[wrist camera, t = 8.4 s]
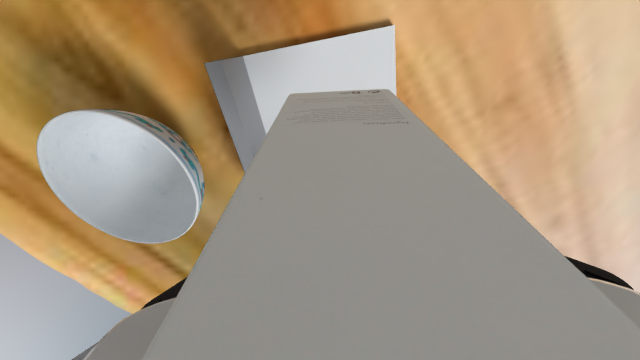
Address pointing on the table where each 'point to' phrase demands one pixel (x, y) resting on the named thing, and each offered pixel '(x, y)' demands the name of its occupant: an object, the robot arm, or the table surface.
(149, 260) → the table surface
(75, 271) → the table surface
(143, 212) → the chinaware
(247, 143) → the corner jig
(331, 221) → the skincare box
